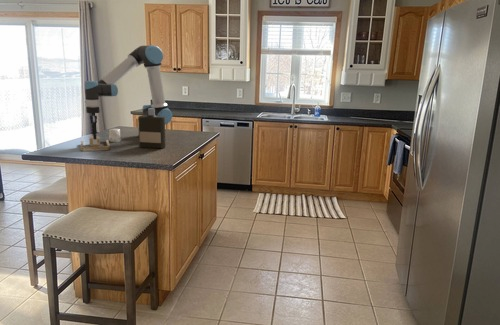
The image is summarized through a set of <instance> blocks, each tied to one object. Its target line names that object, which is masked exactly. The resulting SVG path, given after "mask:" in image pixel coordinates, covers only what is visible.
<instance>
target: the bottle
mask: <svg viewBox="0 0 500 325" xmlns="http://www.w3.org/2000/svg"><path fill="white" fill-rule="evenodd" d="M137 118H138V120H137V121H138V146H139V148H140V149H158V150H159V149H160V150H162V149H165V148H166V124H165V117H164V116H156V115H155V109H154V108H148V116H145V115H143V114H142V115H139V116H138V117H137Z"/></svg>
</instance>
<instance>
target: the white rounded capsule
mask: <svg viewBox="0 0 500 325" xmlns="http://www.w3.org/2000/svg"><path fill="white" fill-rule="evenodd" d="M108 134H109V143H120V142H121V141H122V140H121V129H120V128H110V129H108Z"/></svg>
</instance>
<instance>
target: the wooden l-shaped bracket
mask: <svg viewBox="0 0 500 325" xmlns="http://www.w3.org/2000/svg"><path fill="white" fill-rule="evenodd" d="M105 142H106V145H105V146H104V145H102V146H101V145H100V146H84V141H83V140H81V141H80V152H92V151H93V152H94V151H111V145H110V140H109V139H106V140H105Z"/></svg>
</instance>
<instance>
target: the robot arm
mask: <svg viewBox="0 0 500 325" xmlns="http://www.w3.org/2000/svg"><path fill="white" fill-rule="evenodd" d="M163 59H164V54H163V51H162V49H161V48H160V47H159V46H157V45H154V44H153V45H152V44H150V45H149V44H148V45H140V46H138V47H137V48H135V49H134V50H132V51H131V52H130V53H128V54H127V57H126V58H125V59H124V60H122V61H121V62H120V63H119V64H118V65H117V66H116V67H114V68H113V69H112V70H111V71H109V72H108V73H107V74H106V75H105V76H103V77H102V78H101V79H99V80H98V81H97V80H86V81H84V95H85V100H84V103H85V106H86V107H85V110H86V111H85V112H86V113H87V114H90V115H89V119H90V124H91V133H90V134H91V137H92V138H93V144H98V142H97V137H98V134H99V131H98V130H97V129H98V128H97V127H98V126H97V123H98V120H97V119H98V115H96V114H100V111H101V110H100V97H117V96H118V93H119V90H118V89H119V88H118V86H117V85H116V83H117V82H119V81H120V80H121V79H122V78H124V77H125V76H126V75H127V74H128V73H129V72H131V71H132V70H133V69H134V68H137V67H139V66H141V65H142V64H143V68H144V69H146V71H147V77H148V78H147V79H148V84H149V88H150V97H151V100H152V104H145V105H142V115H145V116H148V108H154V109H155V115H156V116H164V117H165V125H168V124H169V123H170V122H171V121H172V120H173V112H172V111H171V110H170V109H169V105H168V103H166V99H165V93H164V87H163V82H162V73H161V67H162V62H163Z"/></svg>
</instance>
